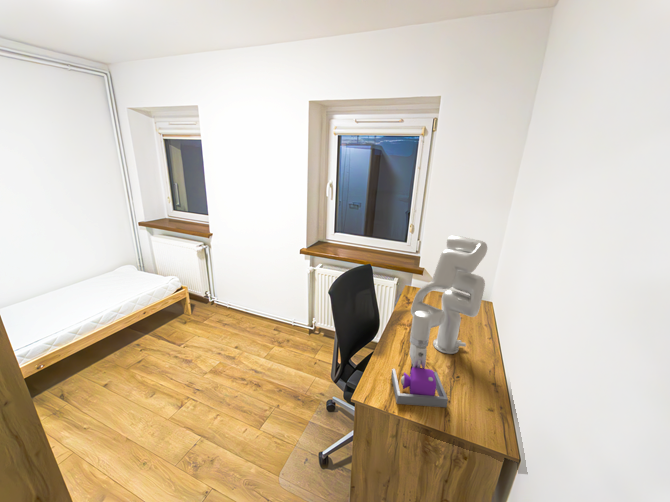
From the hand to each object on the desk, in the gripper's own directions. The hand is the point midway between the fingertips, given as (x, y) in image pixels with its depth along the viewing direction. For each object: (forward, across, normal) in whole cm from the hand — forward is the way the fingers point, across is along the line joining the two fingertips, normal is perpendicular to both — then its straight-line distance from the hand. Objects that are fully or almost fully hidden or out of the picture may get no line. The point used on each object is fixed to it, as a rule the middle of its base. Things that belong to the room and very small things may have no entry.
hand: (413, 375), depth 126 cm
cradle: (+2, -7, 0) cm, 7 cm away
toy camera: (+2, -8, 0) cm, 9 cm away
